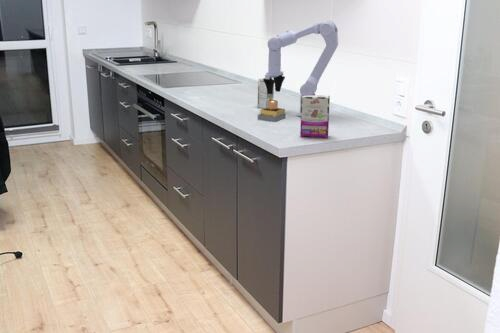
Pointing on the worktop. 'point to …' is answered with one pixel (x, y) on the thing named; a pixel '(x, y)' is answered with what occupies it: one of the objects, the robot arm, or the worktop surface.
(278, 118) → the square open tray
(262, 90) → the syrup box
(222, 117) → the worktop surface
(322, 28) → the robot arm
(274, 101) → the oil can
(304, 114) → the candy bar box
